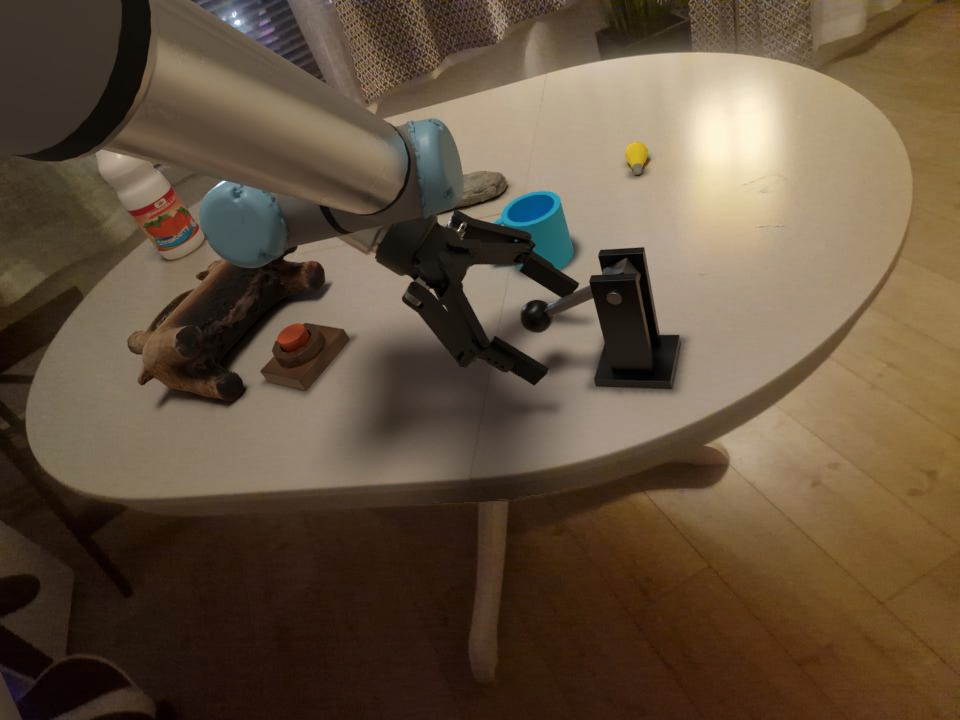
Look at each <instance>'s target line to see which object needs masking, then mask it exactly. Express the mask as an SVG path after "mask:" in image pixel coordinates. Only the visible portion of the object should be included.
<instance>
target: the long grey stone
mask: <svg viewBox="0 0 960 720" xmlns="http://www.w3.org/2000/svg"><path fill="white" fill-rule="evenodd" d="M506 179H507V178H506V176H504V175H503V173H502V172H498V171H488V170H478V171H473V172H470V173H465V174H463V182H464V187H463V195H462V198H461V201H460V202H459V204H458V205H457V206H456V207H455V208H454V209H456V208H463V207H467V206H468V207H471V206H472V205H475V204H477V203H480V202H481V203H482V202H485V201H487V200H490V199H492V198H496V197H497V196H500V195H501V194H502V193H504V191H505V190H506V188H507V185H508V184H507V183H508V181H507V180H506Z"/></svg>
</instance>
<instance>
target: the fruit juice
mask: <svg viewBox="0 0 960 720" xmlns="http://www.w3.org/2000/svg"><path fill="white" fill-rule="evenodd" d="M94 154H95V158H96V163H97V169H98V173H99V174H100V176H101V178H102V179H103V180H104V181H105V182H106V183H108V185H110V186H111V187H113V189H114V191H115V192H116V196H117V198H118V200H119V202H120V203H121V204H122V206H123V207H124V209H125V210H126V211H127V212H128V214H129V215H130V217H131V218H132V220H134V222H135V223H136V224H137V226H138V227H139V228H140V230H141V231H142V232H143V233H144V235H145V236H146V237H147V238H148V240H149V241H150V242H151V244H152V245H153V246H154V247H155V249H156V250H157V251H158V252H159V254H160V255H161V256H162V258H164V259H165V260H167V261H175V260H178V259H181V258H183V257H186V256H187V255H190V254H191V253H193V252H194V251H196V249H198V248H199V247H201V245H202V244H203V242H204V241H205V239H206V238H205V237H204V234H203V232H202V230H201V227H200V224H198V222H197V221H196V220H195V218H194V217H193V216H192V213H190V211H189V210H188V208H187V207H186V206H185V204H184V203H183V201H182V199H181V198H180V196H178V193H177V192H176V191H175V189H174V188H173V187H172V185H171V183H170V182H169V181H168V180H167V178H166V177H165V176H164V175H163V174H162V172H160V171H159V170H157V169H156V168H155V166H154V165H153V162H149V161H145V160H141V159H137V158H133V157H129V156H125V155H121V154H117V153H113V152H109V151H105V150H102V149H101V150H100V151H98V152H96V153H94Z"/></svg>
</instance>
